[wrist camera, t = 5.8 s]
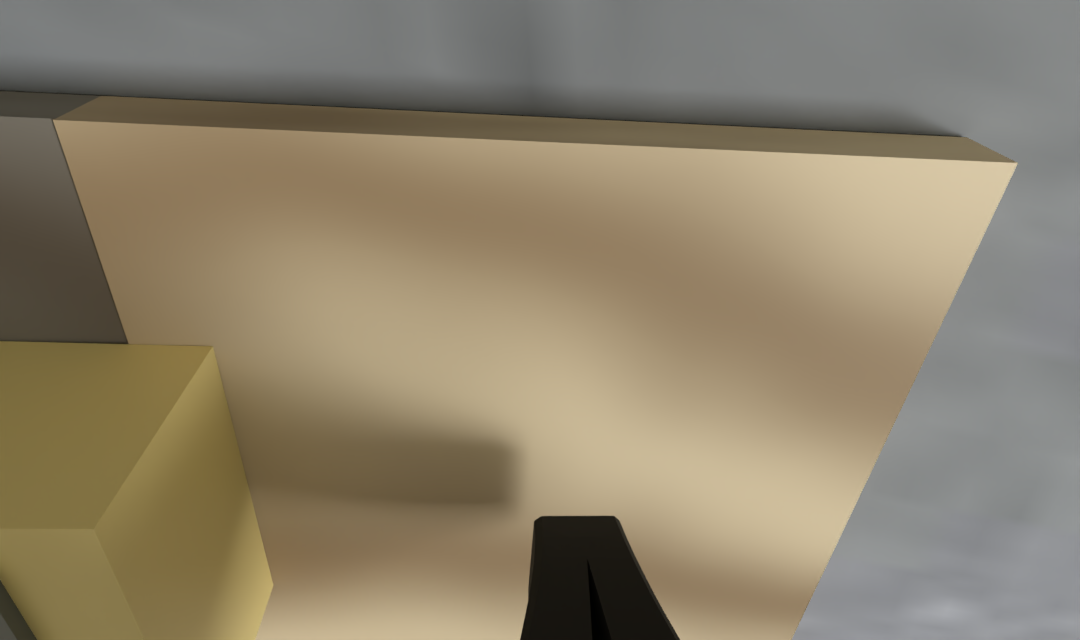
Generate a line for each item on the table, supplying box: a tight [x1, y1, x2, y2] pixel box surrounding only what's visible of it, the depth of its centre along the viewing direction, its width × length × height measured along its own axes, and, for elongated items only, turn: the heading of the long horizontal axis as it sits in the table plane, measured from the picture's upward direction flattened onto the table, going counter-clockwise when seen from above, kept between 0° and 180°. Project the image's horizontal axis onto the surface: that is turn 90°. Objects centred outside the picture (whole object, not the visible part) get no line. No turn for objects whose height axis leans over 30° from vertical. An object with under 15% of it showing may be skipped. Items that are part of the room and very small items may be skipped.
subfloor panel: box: [0, 91, 1018, 640], centre depth 14 cm, size 19×20×1 cm
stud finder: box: [0, 341, 273, 640], centre depth 10 cm, size 6×5×4 cm
